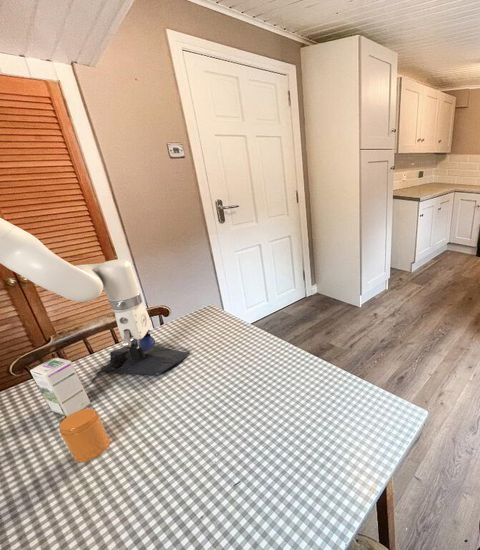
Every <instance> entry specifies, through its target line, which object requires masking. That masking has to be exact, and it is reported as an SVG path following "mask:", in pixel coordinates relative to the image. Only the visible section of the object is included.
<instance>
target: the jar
mask: <svg viewBox="0 0 480 550" xmlns="http://www.w3.org/2000/svg"><path fill="white" fill-rule="evenodd" d="M58 429H59V434H60V436H61V438H62V440H63V442H64V443H65V445H66V448H67V449H68V451H69V453H70V455H71V457H72V459H73V461H74V462H76V463H86V462H88V461H91V460H94V459H96V458H97V457H99V456H100V455H101V454H103V453H104V452H105V451H106V450H107V449H108V447H109V446H110V443H111V440H110V438H109V435H108V433H107V431H106V428H105V426H104V423H103V422H102V419H101V417H100V415H99V413H97V411H95V410H94V408H83V409H82V410H79V411H77V412H74V413H72V414H71V415H69V416H67V417H66V418H64V419H63V420H62V421H61V422H60V424H59V427H58Z"/></svg>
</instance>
